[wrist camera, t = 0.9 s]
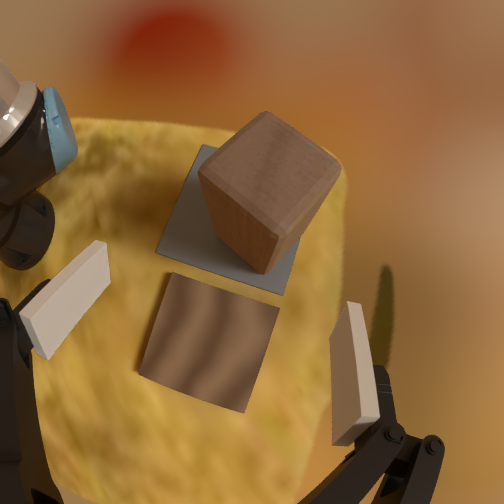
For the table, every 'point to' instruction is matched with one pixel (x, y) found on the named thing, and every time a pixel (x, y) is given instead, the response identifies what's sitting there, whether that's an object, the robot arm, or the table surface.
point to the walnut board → (208, 342)
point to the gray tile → (213, 239)
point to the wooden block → (266, 189)
